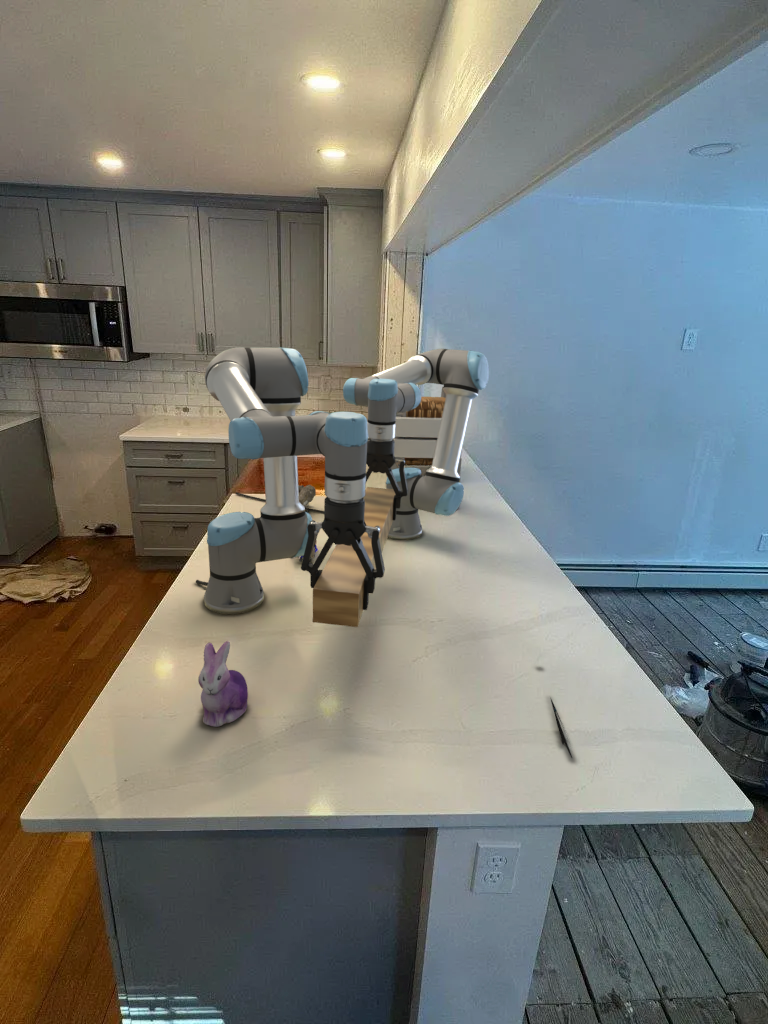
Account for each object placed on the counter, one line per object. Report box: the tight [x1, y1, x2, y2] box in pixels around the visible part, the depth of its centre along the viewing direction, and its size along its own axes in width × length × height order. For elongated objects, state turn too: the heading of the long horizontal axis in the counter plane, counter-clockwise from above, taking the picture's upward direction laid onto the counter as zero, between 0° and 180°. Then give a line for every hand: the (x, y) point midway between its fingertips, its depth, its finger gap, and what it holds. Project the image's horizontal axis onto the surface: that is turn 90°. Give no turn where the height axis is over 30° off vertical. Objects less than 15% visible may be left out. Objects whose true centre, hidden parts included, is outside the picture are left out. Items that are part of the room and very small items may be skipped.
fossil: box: [298, 484, 317, 513], centre depth 215 cm, size 22×10×15 cm
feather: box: [539, 666, 573, 758], centre depth 114 cm, size 2×28×2 cm
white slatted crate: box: [391, 386, 463, 476], centre depth 268 cm, size 34×33×41 cm
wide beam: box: [312, 486, 396, 628], centre depth 135 cm, size 64×9×7 cm, turn 173°
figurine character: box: [294, 533, 319, 563], centre depth 178 cm, size 7×8×15 cm
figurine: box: [198, 640, 249, 728], centre depth 107 cm, size 9×10×15 cm
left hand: (342, 604), depth 113 cm, fingers closed on wide beam, 9 cm apart
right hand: (377, 517), depth 159 cm, fingers closed on wide beam, 9 cm apart
